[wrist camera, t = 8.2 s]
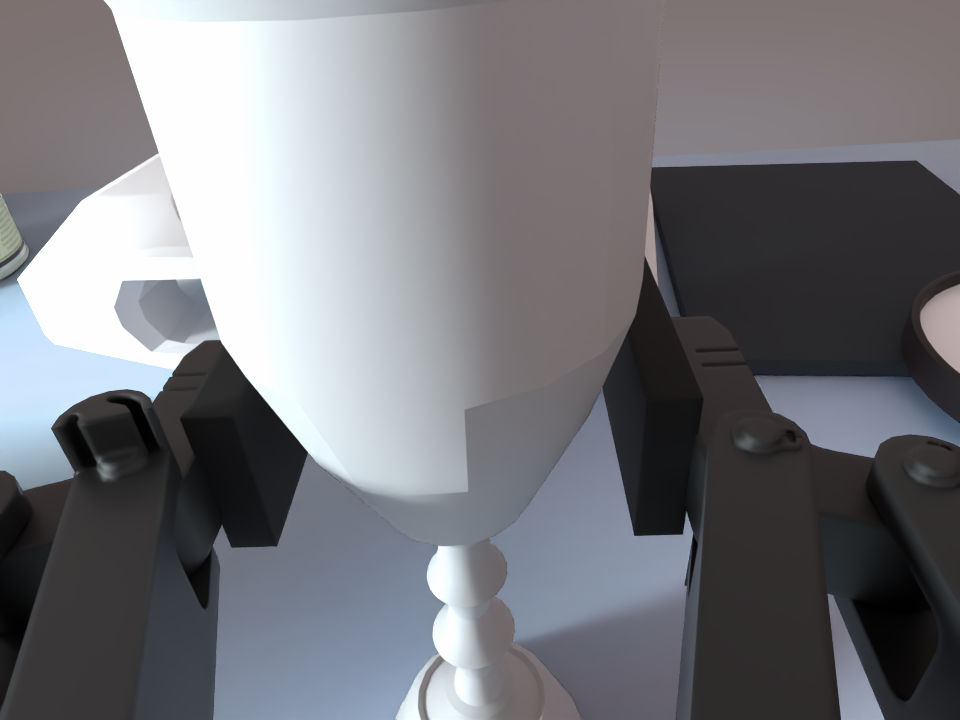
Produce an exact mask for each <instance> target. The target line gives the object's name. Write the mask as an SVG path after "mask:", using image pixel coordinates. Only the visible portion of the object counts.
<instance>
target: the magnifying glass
mask: <svg viewBox="0 0 960 720" xmlns="http://www.w3.org/2000/svg"><path fill="white" fill-rule="evenodd" d="M900 347H901V352H902V357H903V360H904V362H905V365H906V367H907V369H908V371H909V373H910V374H911V376H912V377H913V379H914V380H915V382H916V383H917V385H918V386H919V387H920V388H921V389H922V390H923V391H924V393H925V394H926V395H927V396H928V397H929V398H930V399H931V400H932V401H933V402H935V403H936V404H937V405H938V406H939V407H940V408H941V409H942V410H943V411H945V412H946V413H947V414H949V415H950V416H951V417H953V418H954V419H955V420H957V421H958V422H959V423H960V271H955V272H953V273H950V274H947V275H944V276H942V277H940V278H938V279H936V280H934V281H932V282H931V283H929V284H928V285H927V286H926V287H924V288H923V289H922V290H921V291H920V293H919V294H918V295H917V297H916V298H915V300H914V301H913V304H912V307H911V309H910V312H909V315H908V317H907V320H906V323H905V325H904V328H903V331H902V335H901V346H900Z"/></svg>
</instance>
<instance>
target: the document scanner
mask: <svg viewBox="0 0 960 720" xmlns="http://www.w3.org/2000/svg"><path fill="white" fill-rule="evenodd" d="M645 257H646V259H647V262H648V264H649V267H650V269H651V271H652V274H653V276H654V279H655V281H656V284H657V286H658V279H657V263H656V248H655V232H654V217H653V203H652V197H651V191H650V194H649V207H648V219H647V232H646V244H645ZM17 280H18V282H19V284H20V286H21V288H22V290H23V292H24V294H25V296H26V298H27V300H28V302H29V304H30V306H31V308H32V310H33V312H34V314H35V315H36V317H37V319H38V321H39V323H40V325H41V327H42V329H43V331H44V333H45V335H46V337H48V338H49V339H50V340H51V341H52V342H53V343H54V344H57V345H62V346H66V347H71V348H76V349H80V350H85V351H90V352H94V353H99V354H104V355H108V356H113V357H117V358H122V359H127V360H131V361H136V362H141V363H145V364H150V365H155V366H159V367H164V368H168V369H173V370H175V369H176V367H177V366H178V364H179V363H180V361H181V360H182V358H183V357H184V356H185V355H186V354H187V353H189V352H190V351H191V350H193V349H194V348H195V347H197V346H198V345H199V344H201V343H202V342H203V341H205V340H221V339H220V336H219V333H218V330H217V327H216V324H215V321H214V318H213V315H212V312H211V309H210V306H209V303H208V300H207V297H206V294H205V291H204V288H203V284H202V281H201V278H200V275H199V272H198V269H197V266H196V263H195V260H194V257H193V254H192V251H191V248H190V245H189V242H188V239H187V236H186V233H185V230H184V227H183V224H182V221H181V218H180V215H179V212H178V209H177V206H176V203H175V200H174V197H173V194H172V190H171V187H170V184H169V181H168V178H167V175H166V172H165V169H164V166H163V163H162V160H161V157H160V154H159V153H158V154H156V155H155V156H153V157H151V158H150V159H148V160H147V161H145V162H143V163H142V164H140V165H138V166H137V167H136V168H134V169H132V170H130V171H129V172H127V173H126V174H124V175H122V176H121V177H119V178H117V179H116V180H114V181H113V182H111V183H109V184H108V185H106V186H105V187H103V188H101V189H100V190H98V191H96V192H95V193H93V194H92V195H90V196H88V197H87V198H85V199H83V200H82V201H81V202H80V203H79V205H78V206H77V207H76V208H75V209H74V211H73V212H72V213H71V214H70V216H69V217H68V218H67V219H66V220H65V222H64V223H63V224H62V225H61V226H60V228H59V229H58V230H57V231H56V233H55V234H54V235H53V236H52V237H51V239H50V240H49V241H48V242H47V244H46V245H45V246H44V247H43V248H42V250H41V251H40V252H39V253H38V254H37V256H36V257H35V258H34V259H33V261H32V262H31V263H30V264H29V265H28V267H27V268H26V269H25V270H24V272H23V273H22V274H21V275H20V276H19V278H18V279H17Z"/></svg>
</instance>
